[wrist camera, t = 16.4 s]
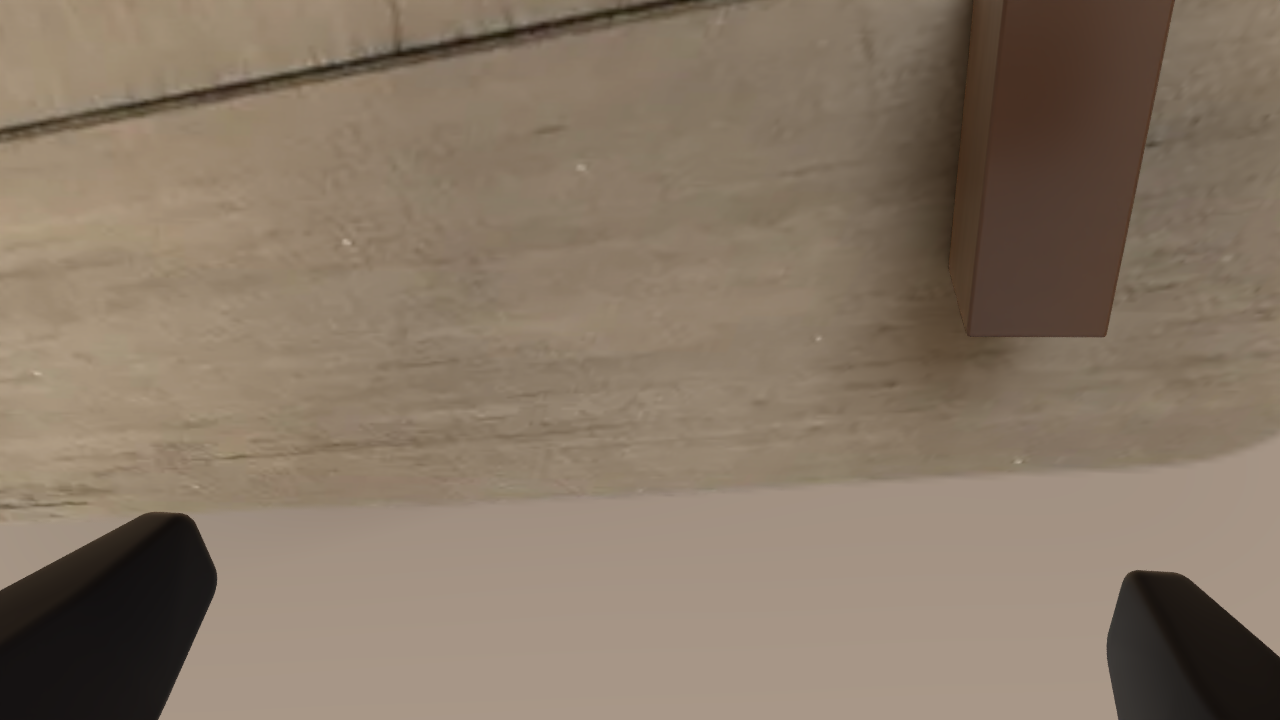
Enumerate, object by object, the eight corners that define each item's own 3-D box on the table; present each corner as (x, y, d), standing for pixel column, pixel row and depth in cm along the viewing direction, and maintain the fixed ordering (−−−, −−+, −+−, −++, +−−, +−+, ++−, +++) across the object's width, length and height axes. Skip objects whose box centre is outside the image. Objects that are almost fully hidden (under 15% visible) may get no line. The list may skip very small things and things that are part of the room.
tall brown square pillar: (1124, -49, 13) (1180, -20, 11) (1069, 267, 15) (1106, 338, 13) (976, -39, 13) (1004, -10, 11) (947, 269, 16) (965, 337, 14)
